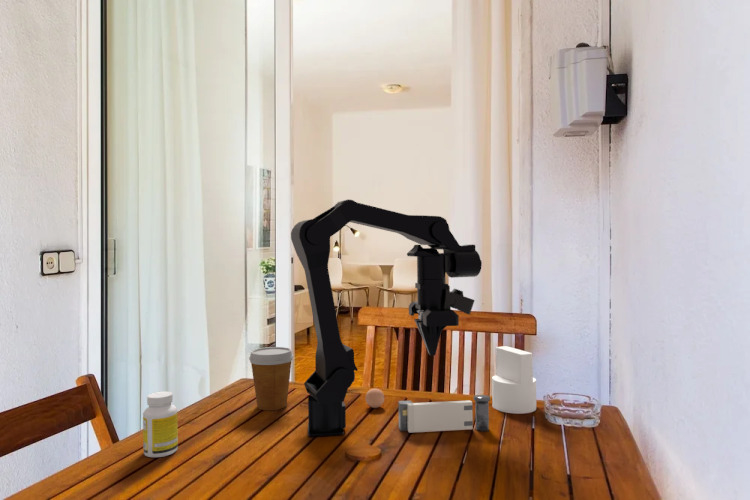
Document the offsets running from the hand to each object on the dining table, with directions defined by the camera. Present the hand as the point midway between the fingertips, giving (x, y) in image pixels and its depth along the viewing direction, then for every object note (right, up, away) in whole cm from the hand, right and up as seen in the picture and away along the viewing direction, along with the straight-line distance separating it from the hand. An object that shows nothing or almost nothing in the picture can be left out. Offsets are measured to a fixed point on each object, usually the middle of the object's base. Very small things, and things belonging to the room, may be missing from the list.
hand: (432, 355), depth 108 cm
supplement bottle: (-48, -13, -18) cm, 53 cm away
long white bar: (0, -12, -10) cm, 15 cm away
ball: (-12, -11, +7) cm, 18 cm away
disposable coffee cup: (-34, -13, +7) cm, 37 cm away
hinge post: (+8, -12, -9) cm, 17 cm away
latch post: (-6, -12, -8) cm, 16 cm away
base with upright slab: (+18, -12, +4) cm, 22 cm away
